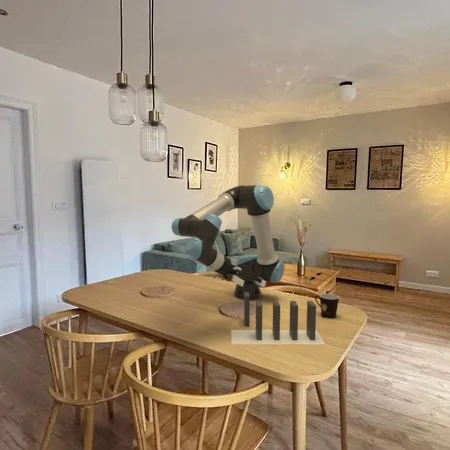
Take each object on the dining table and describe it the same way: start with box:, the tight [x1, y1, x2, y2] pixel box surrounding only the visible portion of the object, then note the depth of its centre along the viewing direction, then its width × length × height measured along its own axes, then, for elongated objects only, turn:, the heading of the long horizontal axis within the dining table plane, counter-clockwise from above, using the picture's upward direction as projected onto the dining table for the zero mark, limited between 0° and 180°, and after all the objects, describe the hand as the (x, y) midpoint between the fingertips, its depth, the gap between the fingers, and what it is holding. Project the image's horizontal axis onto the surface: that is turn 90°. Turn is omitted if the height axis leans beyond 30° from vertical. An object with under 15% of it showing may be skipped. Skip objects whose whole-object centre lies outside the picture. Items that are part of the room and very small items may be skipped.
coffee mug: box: [314, 293, 340, 320], centre depth 155 cm, size 12×9×10 cm
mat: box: [230, 329, 326, 346], centre depth 131 cm, size 13×36×1 cm, turn 90°
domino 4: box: [289, 300, 299, 340], centre depth 131 cm, size 2×6×14 cm, turn 0°
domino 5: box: [306, 300, 317, 340], centre depth 131 cm, size 2×6×14 cm, turn 0°
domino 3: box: [272, 300, 281, 340], centre depth 131 cm, size 2×6×14 cm, turn 0°
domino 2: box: [255, 300, 263, 340], centre depth 131 cm, size 2×6×14 cm, turn 0°
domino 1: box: [243, 292, 251, 328], centre depth 144 cm, size 2×6×14 cm, turn 0°
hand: (253, 284), depth 142 cm, fingers open, 13 cm apart
